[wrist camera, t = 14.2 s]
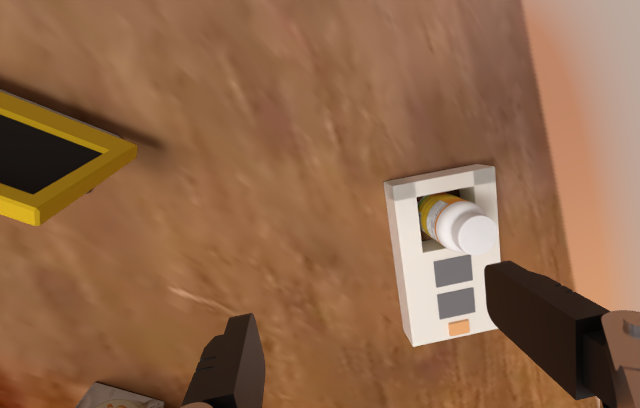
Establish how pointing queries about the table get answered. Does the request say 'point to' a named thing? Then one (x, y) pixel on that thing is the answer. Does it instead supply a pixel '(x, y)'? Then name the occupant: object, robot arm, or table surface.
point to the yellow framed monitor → (51, 159)
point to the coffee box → (115, 399)
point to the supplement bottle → (457, 223)
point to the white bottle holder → (440, 258)
